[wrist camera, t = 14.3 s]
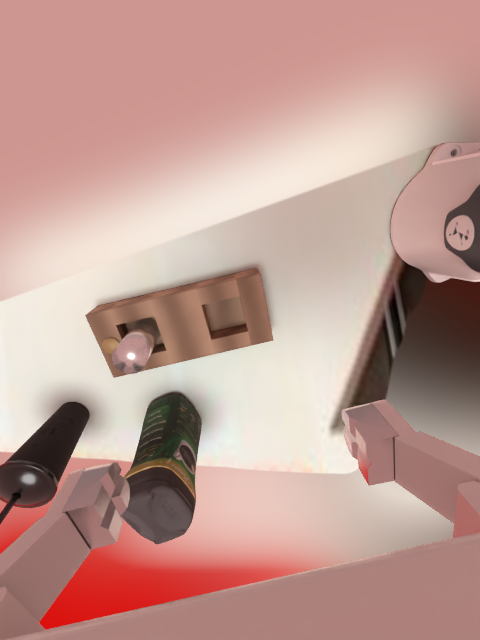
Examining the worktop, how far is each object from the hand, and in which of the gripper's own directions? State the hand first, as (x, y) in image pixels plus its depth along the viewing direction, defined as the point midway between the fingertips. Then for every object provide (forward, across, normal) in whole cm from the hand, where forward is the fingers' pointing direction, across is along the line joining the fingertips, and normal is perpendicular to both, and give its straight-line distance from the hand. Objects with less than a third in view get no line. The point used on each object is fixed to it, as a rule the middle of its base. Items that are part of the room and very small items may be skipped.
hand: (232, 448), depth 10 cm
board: (+33, +7, +6) cm, 34 cm away
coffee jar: (+33, +14, +23) cm, 43 cm away
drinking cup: (+33, +30, +18) cm, 48 cm away
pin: (+32, +13, +6) cm, 35 cm away
